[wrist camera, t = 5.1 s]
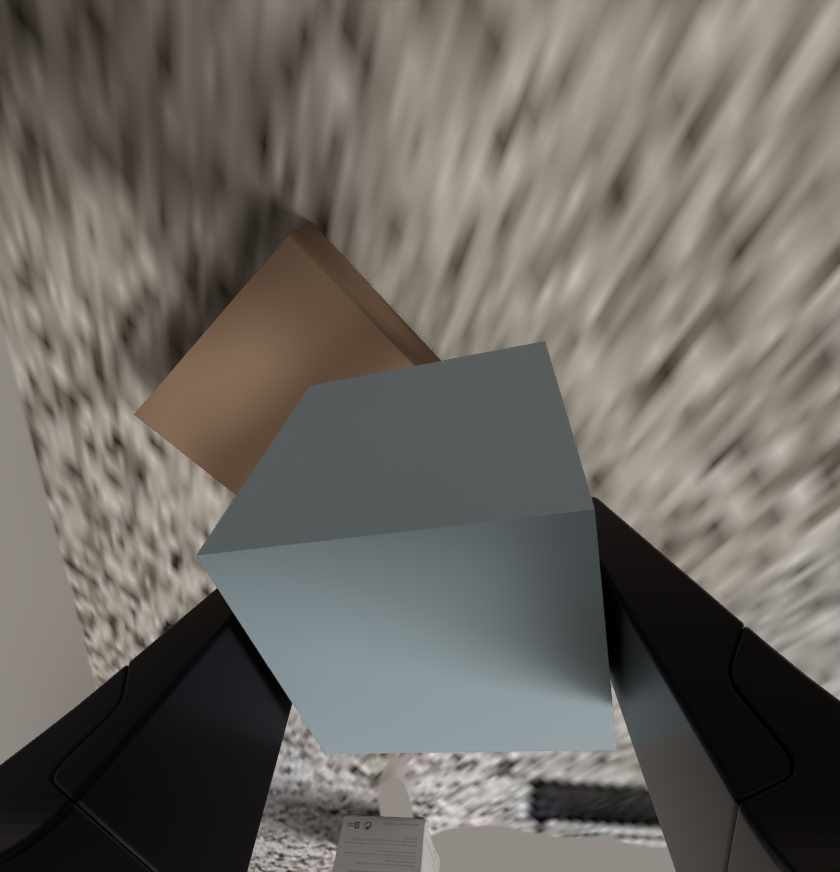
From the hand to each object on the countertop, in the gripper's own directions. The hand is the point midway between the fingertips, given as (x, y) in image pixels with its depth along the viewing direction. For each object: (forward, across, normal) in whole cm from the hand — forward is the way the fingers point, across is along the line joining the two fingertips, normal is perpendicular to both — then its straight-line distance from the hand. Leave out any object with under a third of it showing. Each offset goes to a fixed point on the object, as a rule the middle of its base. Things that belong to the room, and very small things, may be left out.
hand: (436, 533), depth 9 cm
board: (+12, +6, +2) cm, 13 cm away
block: (+2, 0, 0) cm, 2 cm away
